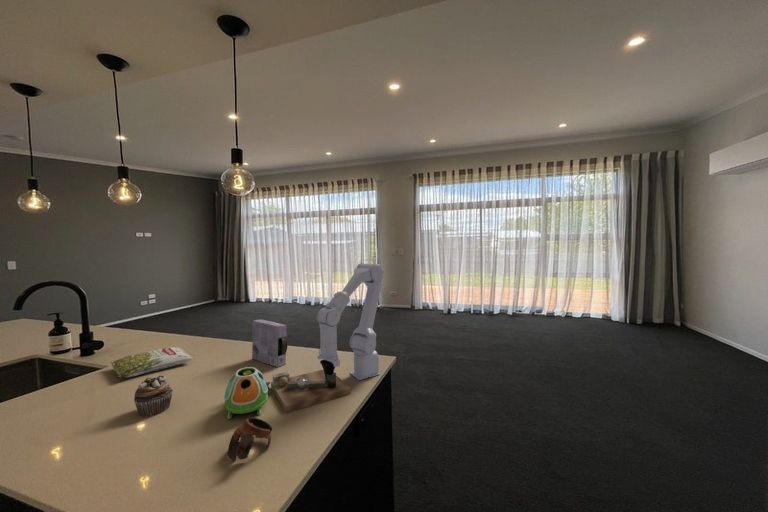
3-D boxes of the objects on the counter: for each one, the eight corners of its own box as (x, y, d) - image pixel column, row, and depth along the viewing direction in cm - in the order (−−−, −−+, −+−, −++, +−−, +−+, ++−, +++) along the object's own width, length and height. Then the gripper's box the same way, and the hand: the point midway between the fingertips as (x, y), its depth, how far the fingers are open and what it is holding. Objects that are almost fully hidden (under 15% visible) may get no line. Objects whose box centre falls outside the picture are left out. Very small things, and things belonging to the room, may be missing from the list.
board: (328, 373, 120) (328, 360, 120) (350, 393, 103) (350, 378, 103) (271, 387, 108) (270, 373, 108) (285, 412, 91) (285, 396, 91)
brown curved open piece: (229, 444, 78) (245, 411, 80) (263, 457, 79) (278, 424, 81) (215, 464, 66) (234, 425, 69) (255, 479, 67) (273, 440, 70)
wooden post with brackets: (275, 391, 104) (269, 381, 102) (252, 407, 100) (246, 396, 99) (273, 389, 105) (268, 379, 104) (251, 404, 101) (245, 394, 100)
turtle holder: (267, 388, 107) (266, 355, 106) (268, 415, 90) (267, 376, 89) (228, 395, 102) (227, 361, 102) (222, 425, 85) (220, 384, 85)
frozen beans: (109, 355, 126) (179, 341, 145) (110, 369, 126) (179, 352, 145) (118, 370, 112) (194, 352, 131) (119, 385, 113) (194, 365, 132)
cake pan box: (288, 364, 130) (288, 324, 129) (279, 368, 126) (278, 326, 125) (261, 356, 140) (260, 318, 140) (251, 359, 136) (250, 321, 135)
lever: (336, 383, 106) (336, 371, 106) (335, 388, 102) (335, 376, 102) (288, 385, 105) (288, 373, 105) (286, 390, 101) (285, 378, 101)
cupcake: (130, 421, 88) (129, 388, 87) (139, 406, 96) (138, 375, 96) (170, 413, 92) (169, 381, 92) (175, 399, 101) (174, 369, 100)
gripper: (310, 338, 110) (311, 375, 110) (325, 350, 98) (326, 391, 98) (328, 335, 114) (329, 370, 114) (345, 346, 101) (345, 385, 102)
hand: (329, 380), depth 106 cm, fingers closed
